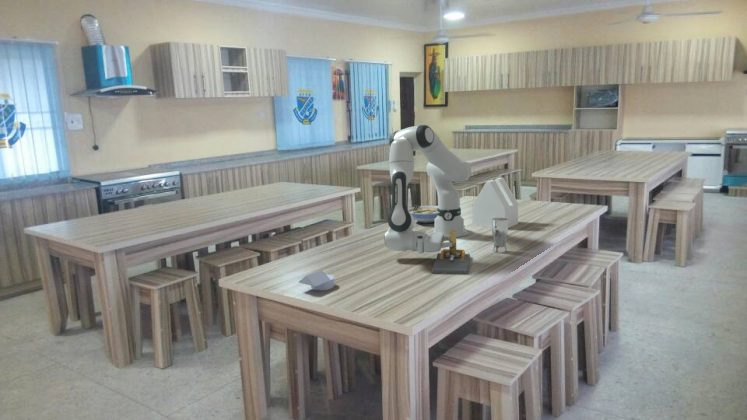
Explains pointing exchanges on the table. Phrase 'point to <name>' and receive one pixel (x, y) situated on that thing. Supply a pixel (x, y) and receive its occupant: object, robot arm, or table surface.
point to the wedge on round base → (319, 280)
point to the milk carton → (495, 204)
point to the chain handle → (452, 250)
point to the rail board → (451, 263)
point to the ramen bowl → (424, 213)
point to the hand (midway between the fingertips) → (453, 241)
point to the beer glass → (499, 234)
